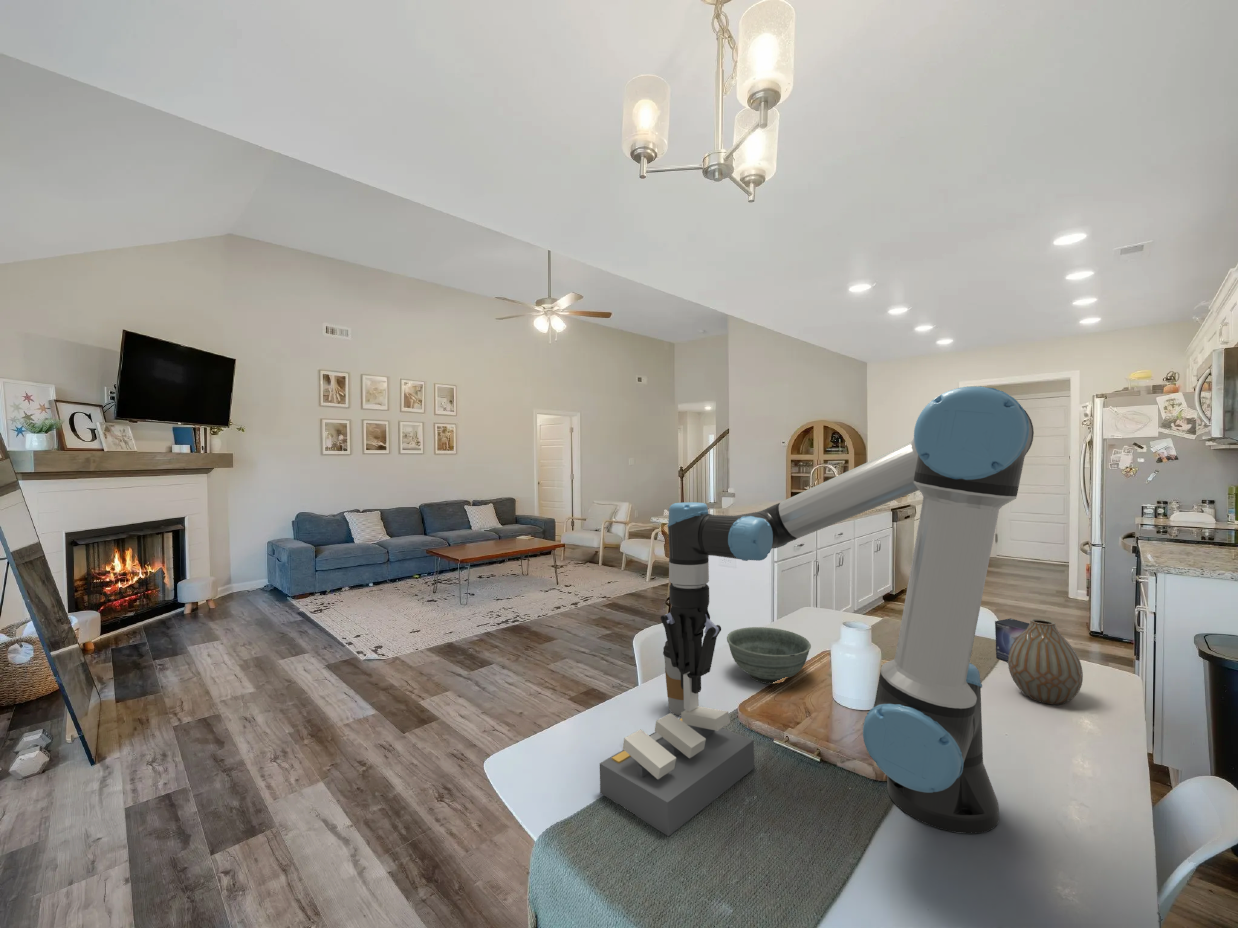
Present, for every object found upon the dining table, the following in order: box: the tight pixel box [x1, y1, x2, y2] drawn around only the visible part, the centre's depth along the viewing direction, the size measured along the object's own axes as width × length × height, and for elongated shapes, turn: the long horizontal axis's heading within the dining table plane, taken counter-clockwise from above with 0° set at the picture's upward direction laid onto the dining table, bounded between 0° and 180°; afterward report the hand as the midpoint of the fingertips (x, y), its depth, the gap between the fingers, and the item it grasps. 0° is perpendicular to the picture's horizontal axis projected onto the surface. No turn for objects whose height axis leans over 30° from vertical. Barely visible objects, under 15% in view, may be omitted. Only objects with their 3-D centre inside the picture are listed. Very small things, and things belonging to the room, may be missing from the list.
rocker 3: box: [680, 705, 731, 731], centre depth 96 cm, size 8×4×2 cm, turn 44°
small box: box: [994, 618, 1030, 663], centre depth 138 cm, size 11×6×10 cm, turn 17°
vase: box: [1007, 618, 1084, 706], centre depth 118 cm, size 13×13×18 cm
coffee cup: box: [662, 640, 685, 717], centre depth 117 cm, size 8×8×15 cm
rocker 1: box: [622, 729, 676, 779], centre depth 85 cm, size 8×4×2 cm, turn 44°
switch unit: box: [599, 716, 755, 837], centre depth 90 cm, size 15×24×6 cm, turn 134°
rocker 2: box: [654, 712, 706, 758], centre depth 90 cm, size 8×4×2 cm, turn 44°
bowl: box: [726, 626, 812, 685], centre depth 133 cm, size 21×21×10 cm
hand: (691, 707), depth 99 cm, fingers closed
